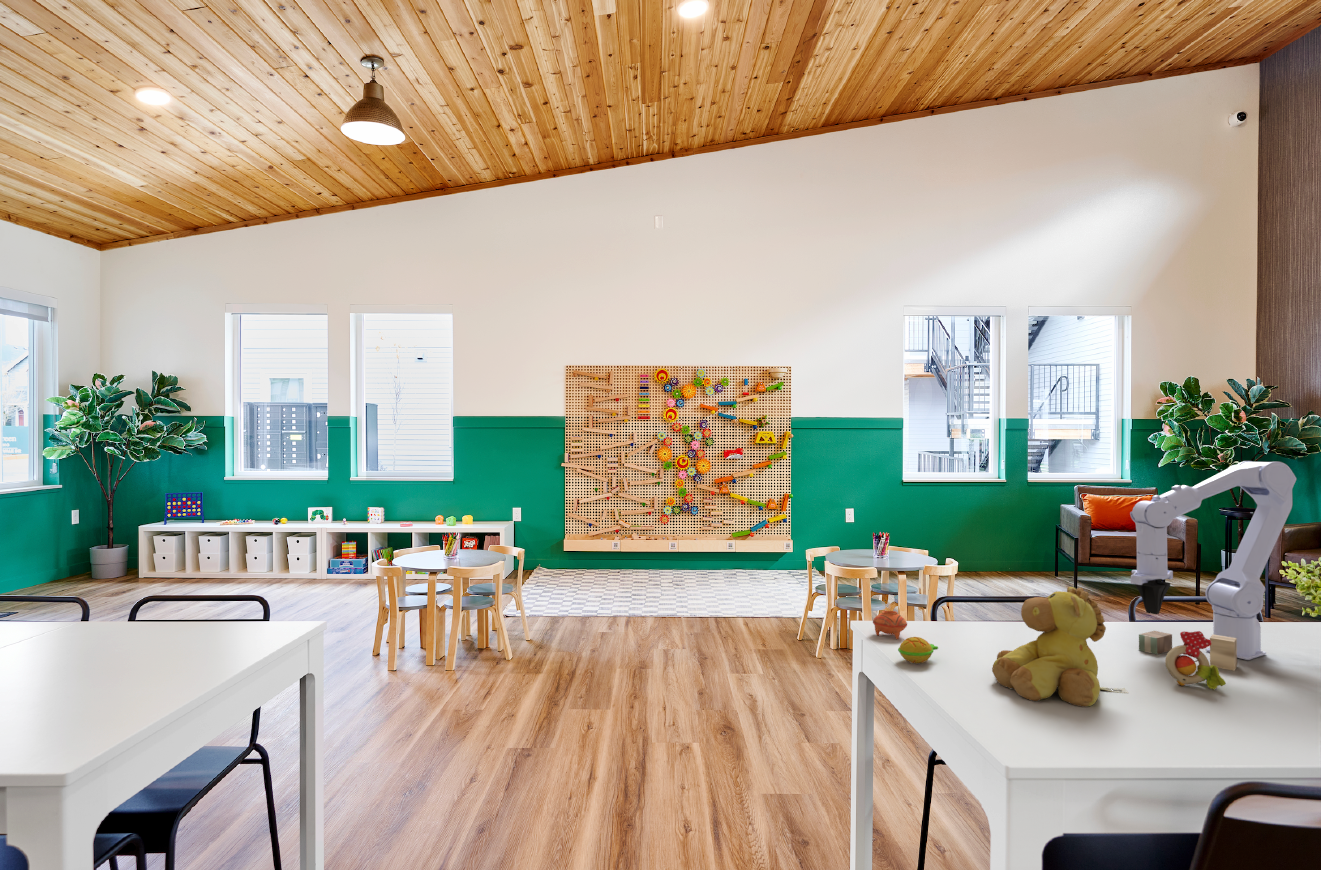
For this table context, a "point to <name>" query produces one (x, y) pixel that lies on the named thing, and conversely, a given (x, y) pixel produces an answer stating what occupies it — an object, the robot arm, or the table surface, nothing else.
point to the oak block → (1223, 652)
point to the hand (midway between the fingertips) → (1152, 613)
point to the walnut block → (1155, 642)
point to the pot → (889, 623)
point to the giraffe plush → (1056, 650)
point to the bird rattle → (1192, 662)
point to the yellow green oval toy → (916, 650)
